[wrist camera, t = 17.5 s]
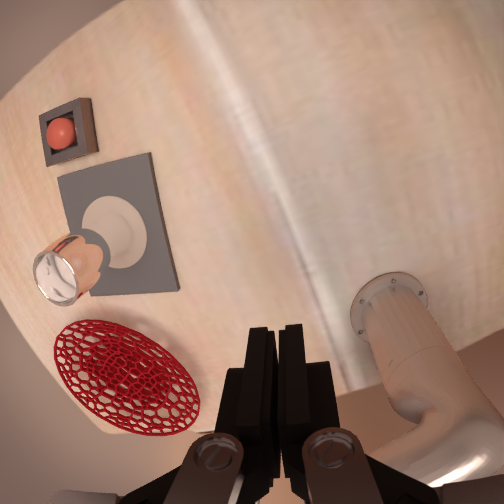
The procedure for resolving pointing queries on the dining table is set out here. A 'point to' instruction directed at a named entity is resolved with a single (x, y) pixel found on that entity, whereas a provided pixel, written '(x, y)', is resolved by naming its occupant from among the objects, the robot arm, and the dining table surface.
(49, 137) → the button
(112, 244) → the beer glass
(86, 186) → the grey rectangular board
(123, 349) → the bowl
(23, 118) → the dining table surface
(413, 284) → the robot arm
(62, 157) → the button housing
